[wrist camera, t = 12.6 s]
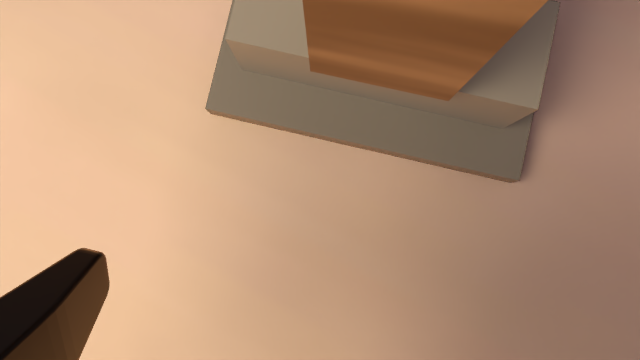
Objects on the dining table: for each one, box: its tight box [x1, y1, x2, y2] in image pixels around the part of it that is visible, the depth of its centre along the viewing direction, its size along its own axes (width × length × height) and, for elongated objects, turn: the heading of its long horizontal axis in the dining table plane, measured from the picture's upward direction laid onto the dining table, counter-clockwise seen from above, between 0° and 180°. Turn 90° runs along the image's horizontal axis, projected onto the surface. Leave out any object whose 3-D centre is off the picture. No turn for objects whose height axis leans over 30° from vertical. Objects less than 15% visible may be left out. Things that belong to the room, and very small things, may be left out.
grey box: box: [205, 0, 560, 183], centre depth 20 cm, size 12×7×4 cm, turn 77°
